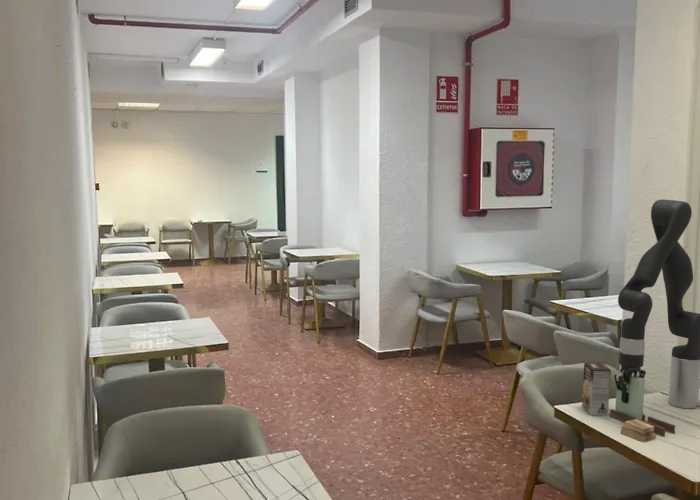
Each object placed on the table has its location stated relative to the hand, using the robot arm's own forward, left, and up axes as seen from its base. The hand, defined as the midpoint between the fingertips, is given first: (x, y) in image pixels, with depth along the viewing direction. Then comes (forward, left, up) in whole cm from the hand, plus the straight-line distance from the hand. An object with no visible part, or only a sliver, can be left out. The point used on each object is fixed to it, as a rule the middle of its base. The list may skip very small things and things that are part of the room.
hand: (628, 401), depth 220 cm
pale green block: (0, 0, -5) cm, 5 cm away
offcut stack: (+9, +11, -6) cm, 15 cm away
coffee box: (+3, -10, -6) cm, 13 cm away
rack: (0, +5, -6) cm, 8 cm away
